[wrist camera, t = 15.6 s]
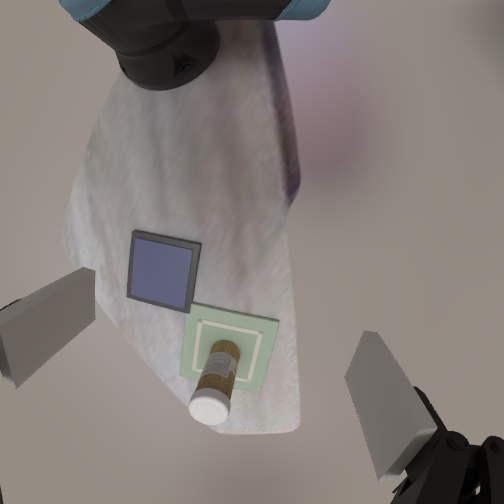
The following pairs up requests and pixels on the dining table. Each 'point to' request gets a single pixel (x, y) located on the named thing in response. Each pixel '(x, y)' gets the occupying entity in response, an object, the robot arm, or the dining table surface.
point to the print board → (232, 330)
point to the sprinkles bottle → (215, 385)
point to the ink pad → (162, 270)
